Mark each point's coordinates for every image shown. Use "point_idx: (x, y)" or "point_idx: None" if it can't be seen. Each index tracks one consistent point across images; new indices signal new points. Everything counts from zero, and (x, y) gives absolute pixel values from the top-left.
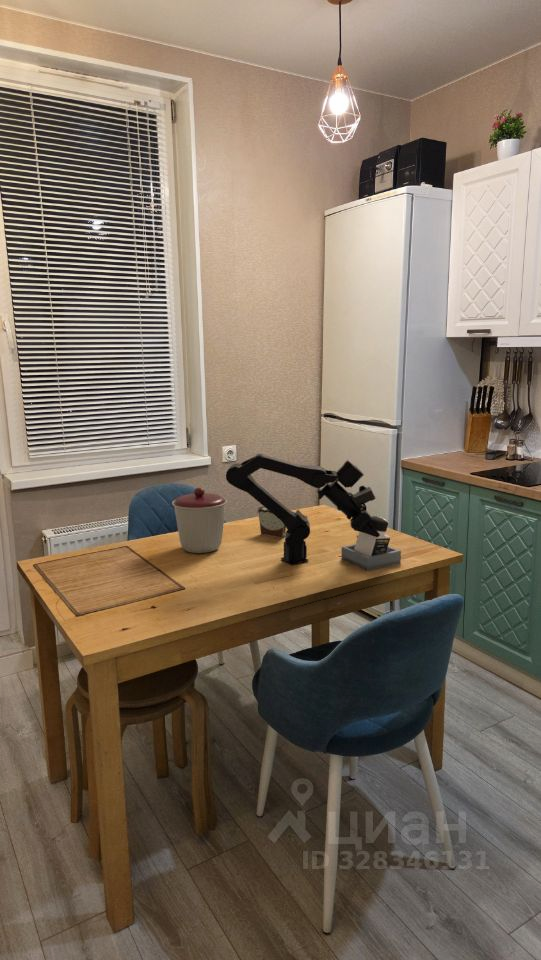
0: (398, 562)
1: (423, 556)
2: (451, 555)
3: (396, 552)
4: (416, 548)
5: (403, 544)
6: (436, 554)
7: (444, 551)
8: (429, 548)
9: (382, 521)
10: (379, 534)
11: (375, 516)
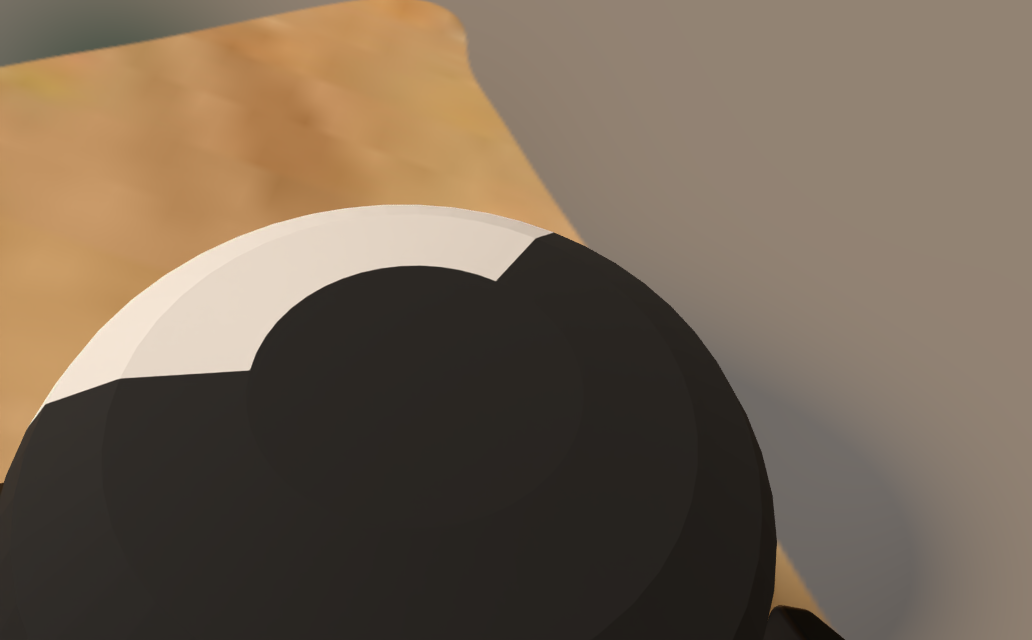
0: None
1: (403, 160)
2: (427, 11)
3: None
4: (182, 136)
5: (16, 186)
6: (381, 73)
7: (331, 12)
8: (225, 62)
9: (701, 380)
10: (817, 618)
11: (174, 481)
